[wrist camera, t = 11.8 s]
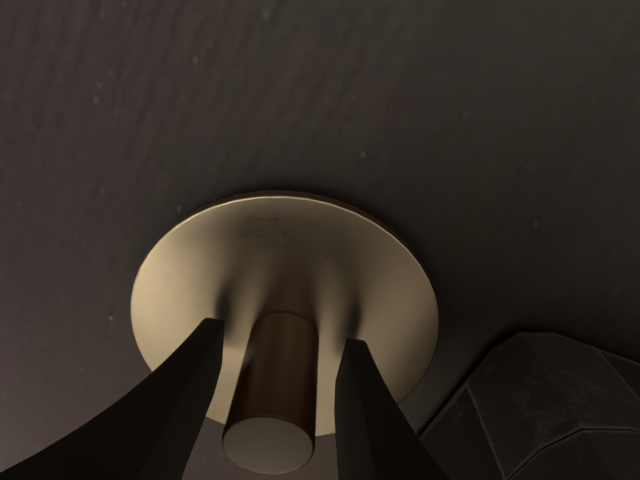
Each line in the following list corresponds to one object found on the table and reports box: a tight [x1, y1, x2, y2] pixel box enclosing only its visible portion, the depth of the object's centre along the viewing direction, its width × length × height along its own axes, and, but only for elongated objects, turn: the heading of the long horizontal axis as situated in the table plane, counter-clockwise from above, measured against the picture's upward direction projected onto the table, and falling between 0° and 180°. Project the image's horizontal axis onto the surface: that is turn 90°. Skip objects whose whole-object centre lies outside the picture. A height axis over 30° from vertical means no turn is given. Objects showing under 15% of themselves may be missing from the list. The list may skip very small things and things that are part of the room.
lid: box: [130, 190, 439, 474], centre depth 12 cm, size 11×11×5 cm
